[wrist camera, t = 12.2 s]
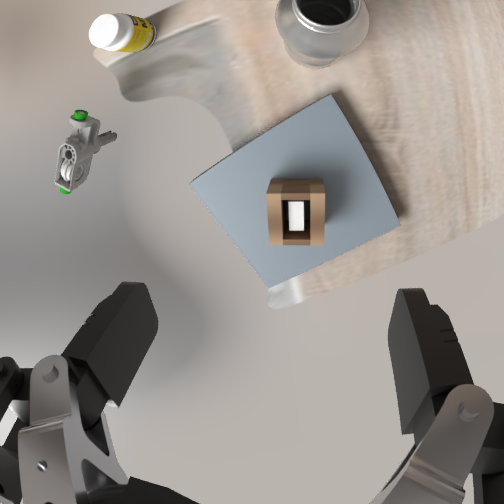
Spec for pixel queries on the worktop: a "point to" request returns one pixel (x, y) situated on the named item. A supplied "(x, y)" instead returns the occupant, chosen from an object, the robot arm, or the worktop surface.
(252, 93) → the worktop surface
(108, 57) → the worktop surface
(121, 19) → the supplement bottle
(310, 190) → the tan hollow open box
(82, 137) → the mechanical component
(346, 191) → the flat blue-gray panel
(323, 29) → the plastic bottle
